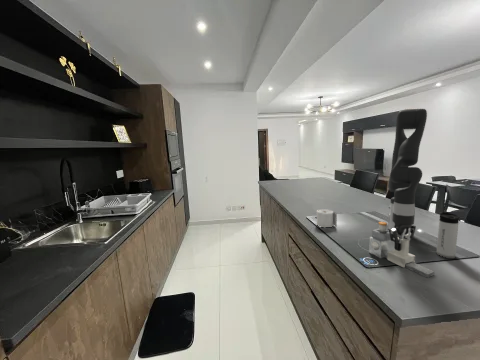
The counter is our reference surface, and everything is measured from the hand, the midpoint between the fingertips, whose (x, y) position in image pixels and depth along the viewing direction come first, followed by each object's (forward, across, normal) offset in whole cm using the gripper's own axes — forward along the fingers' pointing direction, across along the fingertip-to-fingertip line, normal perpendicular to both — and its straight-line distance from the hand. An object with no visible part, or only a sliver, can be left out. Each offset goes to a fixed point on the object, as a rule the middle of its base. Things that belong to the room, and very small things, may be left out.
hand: (401, 248), depth 92 cm
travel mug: (+7, -24, +4) cm, 25 cm away
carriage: (+6, 0, 0) cm, 6 cm away
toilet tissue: (+7, -2, -50) cm, 50 cm away
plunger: (-5, 0, -9) cm, 10 cm away
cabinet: (+6, 0, -9) cm, 11 cm away
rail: (+6, 0, +3) cm, 7 cm away
